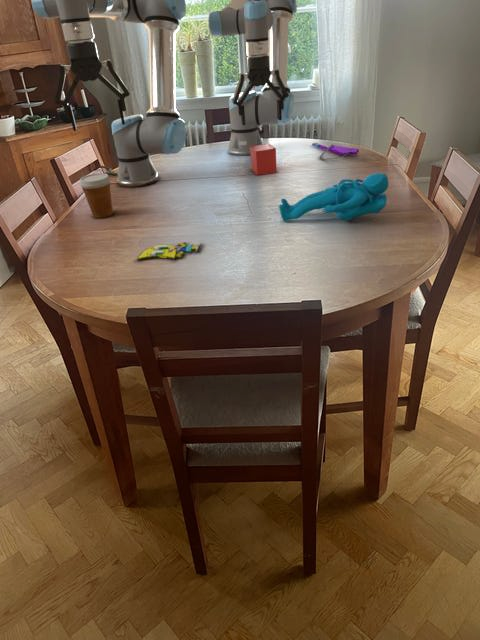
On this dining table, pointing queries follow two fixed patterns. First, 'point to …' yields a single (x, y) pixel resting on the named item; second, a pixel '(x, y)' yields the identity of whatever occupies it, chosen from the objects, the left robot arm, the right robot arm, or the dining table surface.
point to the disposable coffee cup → (98, 194)
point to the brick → (263, 159)
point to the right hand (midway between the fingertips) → (261, 122)
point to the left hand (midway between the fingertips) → (99, 127)
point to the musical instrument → (337, 150)
